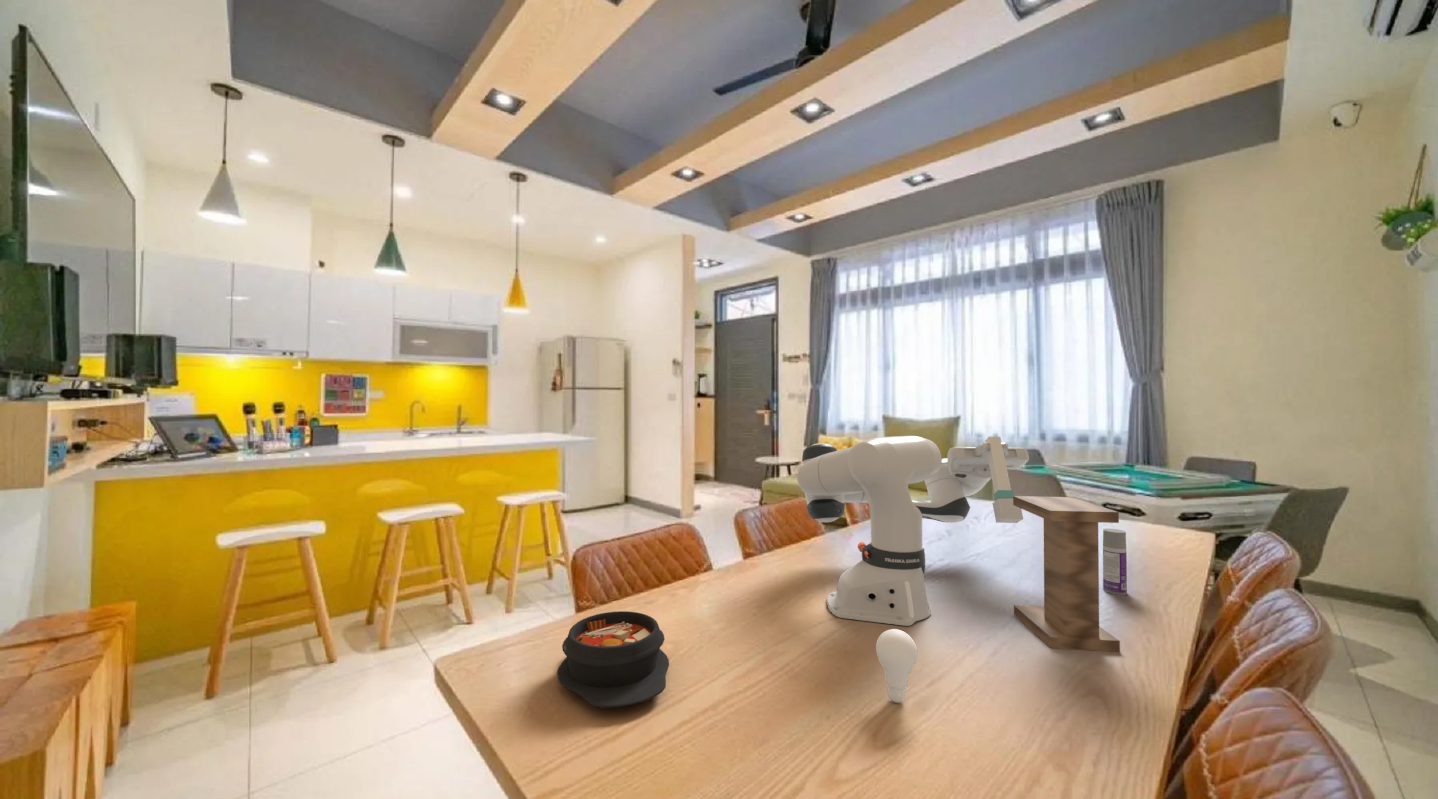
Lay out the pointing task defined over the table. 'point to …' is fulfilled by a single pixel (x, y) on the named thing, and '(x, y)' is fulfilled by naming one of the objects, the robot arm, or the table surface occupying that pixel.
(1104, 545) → the container
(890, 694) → the lightbulb
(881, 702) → the table surface
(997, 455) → the bar
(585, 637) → the casserole
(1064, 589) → the wooden i-beam block
